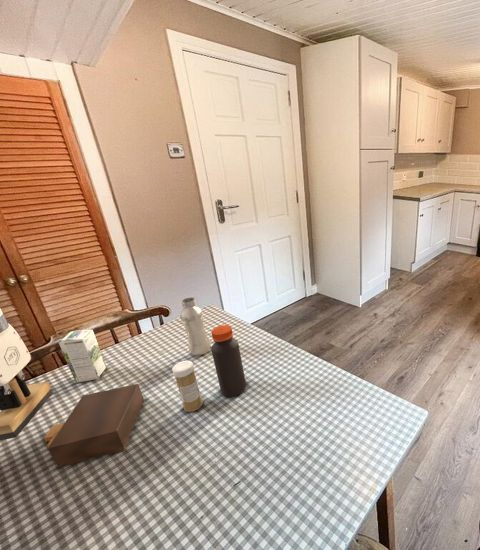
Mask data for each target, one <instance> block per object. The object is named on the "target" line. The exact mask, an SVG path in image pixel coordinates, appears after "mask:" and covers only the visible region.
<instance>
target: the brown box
mask: <svg viewBox="0 0 480 550" xmlns="http://www.w3.org/2000/svg"><path fill="white" fill-rule="evenodd" d="M144 399H145V398H144V396H143V393H142V389H141V387H140V385H139V383H136V384H131V385H130V384H129V385H126V386H120V387H116V388H112V389H106V390H102V391H97V392H92V393H88V394H83V395H82V396H81V397H80V399H79V400H78V402H77V403H76V404H75V407H74V408H73V410H72V411H71V412H70V414H69V416H68V417H67V418H66V420H65V421H64V422H63V423H64V425H63V426H62V428H61V429H60V431H59V432H58V434H57V435H56V437H55V438H54V440H53V441H52V443H51V444H50V446H49V447H48V448H47V451H48V452H49V454H50V456H51V457H52V459H53V461H54V463H55V465H56V466H57V468H58V469H60V468H65V467H67V466H71V465H74V464H75V465H76V464H78V463H82V462H86V461H90V460H94V459H97V458H101V457H104V456H107V455H112V454H114V453H120V452H123V451H125V450H126V449H127V445H128V443H129V440H130V438H131V436H132V432H133V430H134V428H135V425H136V423H137V420H138V418H139V415H140V413H141V410H142V408H143V405H144V403H145V400H144Z"/></svg>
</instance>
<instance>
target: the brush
mask: <svg viewBox="0 0 480 550" xmlns="http://www.w3.org/2000/svg"><path fill="white" fill-rule="evenodd" d="M8 384H9V386H10V388H11V391H14V390H15V392H16V394H17V396H18V397H19V399H20V401H21V403H22V405H21V406H20V407H17V408H12V409H7V410H0V441H5V440H10V439H14V438H17V437H18V436H19V435H20V433H22V431H23V430H24V429H25V428H26V427H27V425H28V424H29V423H30V422H31V420H32V419H34V417H35V416H36V415H37V413H38V412H39V411H40V410H41V408H43V406H44V405H45V404H46V403H47V402H48V400H49V399H50V398H51V397H52V395H53V394H54V391H53V390H52V387H51V385H50V383H49V381H45V382H38V383H32V384H26V385H27V387H28V389H29V391H30V393H31V394H30V396H28V397H24V395H23V393H22V391H21V389H20V387H19V385H18V383H17V381H16V379H15V378H12V379H11V380H10V381H9V382H8ZM0 388H1V387H0Z"/></svg>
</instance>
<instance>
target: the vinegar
mask: <svg viewBox="0 0 480 550" xmlns="http://www.w3.org/2000/svg"><path fill="white" fill-rule="evenodd" d="M210 333H211V337H212V340H213V344H212V346H211V347H210V350H211V355H212V359H213V363H214V364H213V365H214V368H215V372H216V377H217V381H218V384H219V389H220V394H221V395H222V396H223V397H225V398H232V397H237V396H238V395H240V394H242V393H243V392H244V391H245V390H246V388H247V382H246V377H245V371H244V365H243V360H242V355H241V351H240V345H239V344H240V343H239V341H238V340H237V339H235V338H233V337H234V333H233V329H232V326H231V325H228V324H222V325H217V326H216V327H213V329H212V330H211V332H210Z"/></svg>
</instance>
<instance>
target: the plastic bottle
mask: <svg viewBox="0 0 480 550" xmlns="http://www.w3.org/2000/svg"><path fill="white" fill-rule="evenodd" d="M181 306H182V308H183V309H182V310H181V313H180V316H179V318H180V321H181V324H182V325H183V327H184V330H185V332H186V335H187V342H188V344H187V345H188V347H187V348H188V351H189V353H190V354H191V355H193V356H202V355H204V354H207V353H208V352H209V351H210V350H211V341H210V339H209V336H208V334H207V331H206V328H205V323H204V312H203V310H202V308H200V307H199V306H198V305H197V301H196V299H195V297H186V298H183V299H182V300H181Z"/></svg>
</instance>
